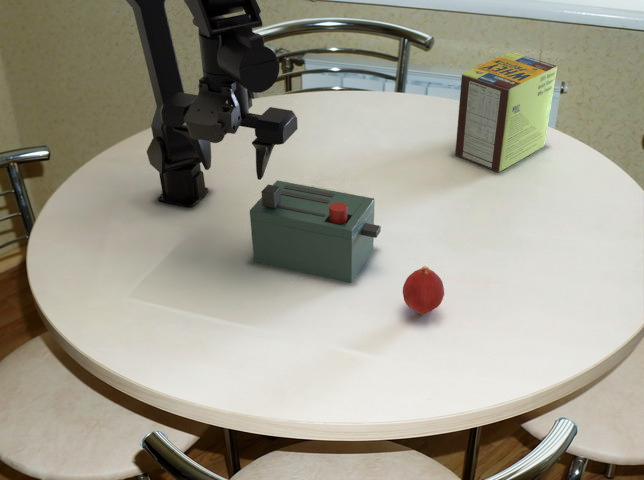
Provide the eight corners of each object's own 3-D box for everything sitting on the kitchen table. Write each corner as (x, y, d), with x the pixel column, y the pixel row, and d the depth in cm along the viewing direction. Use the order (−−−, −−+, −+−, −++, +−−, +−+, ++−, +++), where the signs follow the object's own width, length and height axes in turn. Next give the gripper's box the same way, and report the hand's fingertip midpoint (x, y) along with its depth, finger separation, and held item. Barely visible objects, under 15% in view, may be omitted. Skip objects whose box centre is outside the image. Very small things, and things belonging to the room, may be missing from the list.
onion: (399, 301, 124) (402, 254, 119) (439, 300, 124) (443, 253, 119) (404, 325, 119) (406, 278, 114) (444, 324, 120) (449, 276, 115)
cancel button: (326, 222, 123) (326, 209, 122) (333, 214, 125) (333, 200, 124) (343, 226, 123) (343, 212, 121) (349, 217, 125) (349, 204, 123)
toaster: (253, 262, 131) (249, 209, 125) (280, 230, 138) (277, 179, 132) (366, 286, 127) (367, 233, 121) (387, 252, 134) (389, 200, 128)
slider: (262, 206, 125) (261, 191, 124) (269, 198, 127) (268, 184, 125) (274, 208, 125) (273, 193, 123) (281, 201, 127) (280, 186, 125)
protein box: (545, 146, 163) (558, 65, 153) (498, 173, 154) (509, 89, 144) (500, 130, 168) (510, 50, 158) (453, 155, 160) (460, 72, 149)
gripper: (131, 79, 111) (149, 187, 121) (262, 100, 107) (270, 210, 117) (173, 50, 119) (187, 154, 129) (296, 68, 115) (300, 175, 125)
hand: (234, 173), depth 125 cm, fingers open, 8 cm apart
